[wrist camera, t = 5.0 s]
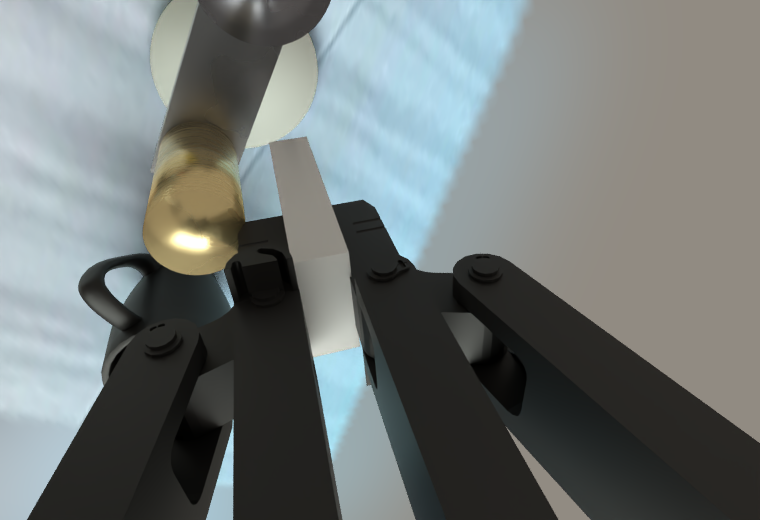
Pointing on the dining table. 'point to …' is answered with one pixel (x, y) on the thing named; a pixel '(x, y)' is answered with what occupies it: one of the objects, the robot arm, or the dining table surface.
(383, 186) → the dining table surface
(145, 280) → the mug
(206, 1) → the bar
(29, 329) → the dining table surface
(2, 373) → the dining table surface
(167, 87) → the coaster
